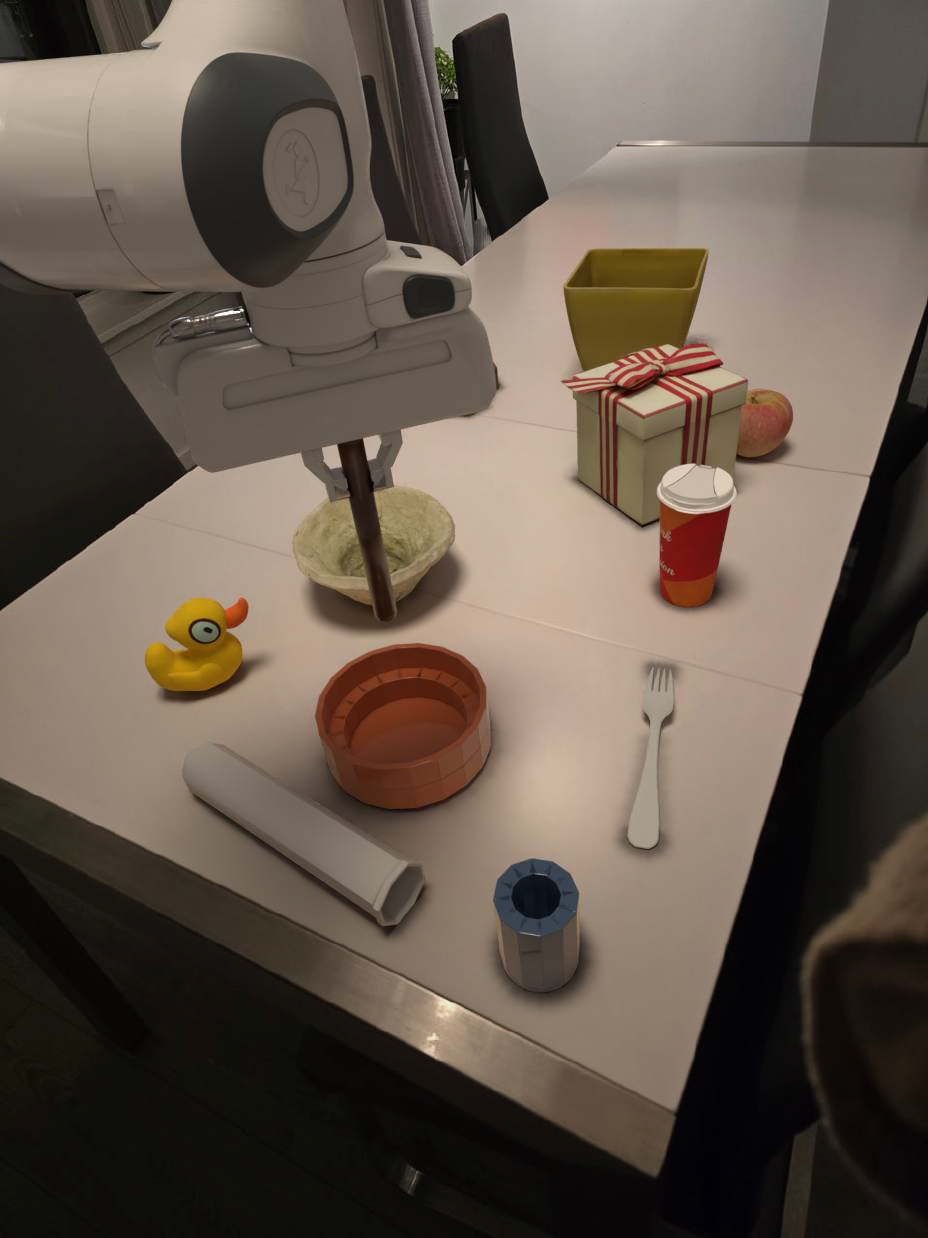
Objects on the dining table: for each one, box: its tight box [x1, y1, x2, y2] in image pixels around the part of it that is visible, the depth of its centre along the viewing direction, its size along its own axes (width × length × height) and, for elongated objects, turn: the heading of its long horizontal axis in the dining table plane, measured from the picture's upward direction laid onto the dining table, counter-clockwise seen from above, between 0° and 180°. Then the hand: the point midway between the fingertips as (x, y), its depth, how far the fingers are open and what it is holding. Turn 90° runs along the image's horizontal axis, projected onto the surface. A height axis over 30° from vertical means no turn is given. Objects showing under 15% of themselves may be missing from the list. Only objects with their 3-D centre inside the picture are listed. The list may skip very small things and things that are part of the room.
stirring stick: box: [336, 438, 398, 623], centre depth 59 cm, size 2×2×17 cm
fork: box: [626, 666, 675, 850], centre depth 72 cm, size 3×21×3 cm, turn 165°
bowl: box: [291, 484, 456, 606], centre depth 90 cm, size 14×18×15 cm
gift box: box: [560, 342, 749, 526], centre depth 101 cm, size 17×18×17 cm
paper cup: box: [657, 464, 738, 608], centre depth 84 cm, size 8×8×14 cm
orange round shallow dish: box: [314, 642, 492, 810], centre depth 73 cm, size 15×15×6 cm
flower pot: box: [562, 247, 710, 372], centre depth 126 cm, size 19×19×17 cm
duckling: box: [144, 597, 249, 692], centre depth 82 cm, size 11×5×10 cm, turn 112°
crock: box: [492, 857, 581, 994], centre depth 56 cm, size 6×6×8 cm
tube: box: [181, 742, 426, 927], centre depth 67 cm, size 5×5×25 cm
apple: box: [736, 388, 794, 458], centre depth 107 cm, size 9×9×8 cm
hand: (360, 491), depth 57 cm, fingers closed on stirring stick, 2 cm apart
